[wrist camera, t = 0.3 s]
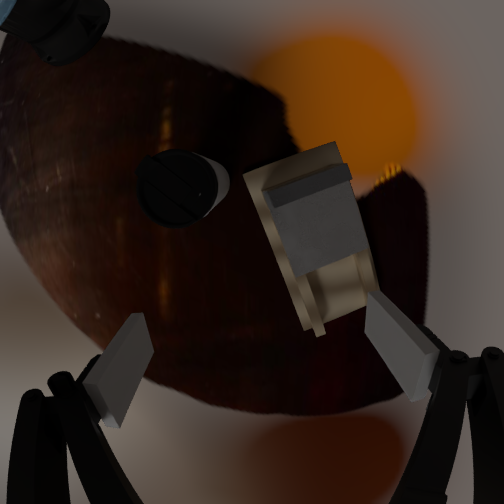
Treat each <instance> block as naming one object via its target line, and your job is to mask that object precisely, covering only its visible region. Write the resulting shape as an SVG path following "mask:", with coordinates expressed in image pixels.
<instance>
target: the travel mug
mask: <svg viewBox="0 0 504 504" xmlns="http://www.w3.org/2000/svg"><path fill="white" fill-rule="evenodd" d="M135 174H136V175H137V176H138V180H137V187H136V190H137V198H138V202H139V204H140V206H141V208H142V210H143V212H144V213H145V214H146V216H147V217H149V218H150V219H151V220H152V221H153V222H155V223H157V224H158V225H161V226H163V227H167V228H173V229H174V228H184V227H188V226H190V225H191V224H193V223H195V222H197V221H198V220H200V219H202V218H203V217H204V216H206V215H207V214H208V213H209V212H210V211H211V210H212V209H213V208H214V207H215V206H216V205H217V204H218V203H219V202H220V201H221V200H222V199H223V198H224V197H225V195H226V194H227V192H228V190H229V186H230V178H229V175H228V172H227V171H226V169H225V168H224V167H223V166H222V165H221V164H219V163H217V162H215V161H213V160H210V159H208V158H206V157H203V156H201V155H199V154H196V153H193V152H189V151H187V150H181V149H170V150H166V151H162V152H160V153H158V154H156V155H155V156H153V157H152V158H151V156H150V155H147V156H145V157H144V159H143V160H142V161H141V163H140V164H139V166H138V167H137V169H136V171H135Z"/></svg>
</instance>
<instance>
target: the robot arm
mask: <svg viewBox="0 0 504 504" xmlns="http://www.w3.org/2000/svg"><path fill="white" fill-rule="evenodd" d="M109 19H110V8H109V6H108V4H107V3H106V2H105V1H104V0H0V30H1V31H3V32H6V33H8V34H10V35H12V36H15V37H17V38H19V39H21V40H24V41H26V42H28V43H30V44H31V46H32V47H33V49H34V50H35V51H36V53H37V54H38V56H39V57H40V59H41V60H43V61H44V62H46V63H48V64H50V65H53V66H62V65H66V64H69V63H71V62H73V61H75V60H77V59H79V58H80V57H81V56H83V55H84V54H85V53H87V52H88V51H89V50H90V49H91V48H92V47H93V46H94V45H95V44H96V43H97V41H98V40H99V39H100V37H101V36H102V34H103V33H104V31H105V29H106V27H107V25H108V22H109ZM365 333H366V335H367V336H368V338H369V339H370V341H371V342H372V344H373V345H374V347H375V348H376V350H377V351H378V352H379V354H380V355H381V357H382V358H383V360H384V361H385V363H386V364H387V366H388V367H389V369H390V370H391V372H392V373H393V375H394V376H395V378H396V380H397V381H398V383H399V384H400V386H401V387H402V389H403V390H404V392H405V393H406V395H407V397H408V398H409V400H410V401H411V402H414V401H417V400H420V399H423V398H425V396H426V393H427V390H428V389H429V390H430V391H431V393H432V395H431V398H430V400H429V403H428V405H427V408H426V410H427V411H426V415H425V417H424V421H423V424H422V427H421V430H420V433H419V435H418V438H417V441H416V444H415V446H414V449H413V451H412V454H411V456H410V459H409V461H408V464H407V466H406V468H405V471H404V473H403V476H402V477H401V480H400V482H399V484H398V486H397V488H396V490H395V492H394V494H393V496H392V498H391V500H390V502H389V504H446V502H447V495H446V494H445V491H446V488H447V485H448V482H449V478H450V475H451V472H452V468H453V464H454V460H455V457H456V452H457V449H458V444H459V439H460V435H461V430H462V424H463V418H464V412H465V406H466V401H467V408H468V414H469V421H470V430H471V439H472V450H473V469H474V500H473V504H504V353H503V351H502V350H500V349H499V348H496V347H486V348H485V349H484V350H483V351H482V354H481V357H473V358H469V357H468V355H467V354H466V353H464V352H462V351H458V350H453V351H451V350H450V349H449V348H448V347H447V346H446V345H445V344H444V343H443V342H442V341H441V340H440V339H438V338H437V336H436V335H435V334H433V332H432V331H431V330H430V329H429V328H427V327H425V326H423V325H421V324H418V325H414V324H413V322H412V321H411V320H409V319H408V318H407V317H406V316H405V315H404V314H403V313H402V312H401V311H400V310H399V309H398V308H397V307H396V306H395V305H394V304H393V303H392V302H391V301H390V300H389V299H388V298H387V297H386V296H385V295H384V294H383V293H382V292H381V291H380V290H378V291H371V292H368V298H367V311H366V323H365ZM153 353H154V350H153V346H152V343H151V340H150V336H149V333H148V329H147V326H146V322H145V318H144V314H143V313H131V315H130V316H129V318H128V319H127V320H126V322H125V323H124V324H123V326H122V327H121V328H120V330H119V331H118V332H117V334H116V335H115V337H114V338H113V339H112V341H111V342H110V344H109V345H108V346H107V348H106V349H105V351H104V352H103V353H102V355H101V354H98V355H96V356H95V357H94V358H92V359H91V360H90V362H89V363H88V364H87V367H85V368H84V370H83V371H82V373H81V374H80V376H79V377H78V378H77V380H76V381H74V378H73V376H72V375H71V373H70V372H67V371H61V372H57V373H55V374H53V375H52V376H51V377H50V378H49V379H48V382H47V384H48V386H49V388H50V390H51V392H52V394H53V395H54V396H50V397H45V396H44V395H43V393H42V391H41V390H39V389H31V390H28V391H26V392H25V393H24V394H23V396H22V398H21V401H20V405H19V410H18V414H17V419H16V423H15V429H14V434H13V440H12V446H11V453H10V461H9V470H8V482H7V502H6V504H71V503H70V494H69V484H68V470H67V445H68V448H69V451H70V454H71V457H72V460H73V463H74V465H75V468H76V471H77V473H78V476H79V478H80V481H81V483H82V485H83V488H84V490H85V493H86V495H87V497H88V499H89V502H90V504H144V503H143V502H142V500H141V499H140V498H139V496H138V494H137V493H136V491H135V490H134V488H133V487H132V485H131V483H130V482H129V480H128V478H127V477H126V475H125V473H124V472H123V470H122V468H121V466H120V465H119V463H118V461H117V459H116V457H115V455H114V453H113V452H112V450H111V448H110V446H109V444H108V442H107V440H106V438H105V436H104V434H103V431H102V429H101V427H100V426H99V424H98V423H99V421H100V419H102V420H103V422H104V424H105V425H106V426H107V427H113V428H120V427H121V424H122V422H123V420H124V417H125V415H126V413H127V410H128V408H129V406H130V403H131V401H132V399H133V397H134V394H135V392H136V390H137V388H138V385H139V383H140V381H141V379H142V377H143V374H144V372H145V370H146V368H147V366H148V363H149V361H150V359H151V357H152V355H153Z"/></svg>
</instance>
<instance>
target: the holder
mask: <svg viewBox="0 0 504 504" xmlns="http://www.w3.org/2000/svg"><path fill="white" fill-rule="evenodd" d="M339 163H343V161H342V158H341V155H340V152H339V150H338V147H337V145H336V142H335V141H334V142H330V143H327V144H324V145H321V146H318V147H316V148H313V149H309V150H307V151H304V152H301V153H298V154H295V155H292V156H290V157H287V158H284V159H281V160H279V161H276V162H273V163H271V164H268V165H266V166H263V167H260V168H258V169H255V170H253V171H250V172H248V173H245V174H243V177H244V179H245V182H246V184H247V187H248V189H249V192H250V194H251V197H252V199H253V201H254V204H255V206H256V209H257V211H258V214H259V216H260V219H261V221H262V224H263V226H264V229H265V231H266V234H267V236H268V239H269V241H270V244H271V246H272V249H273V251H274V254H275V257H276V259H277V262H278V264H279V267H280V269H281V272H282V274H283V277H284V280H285V282H286V285H287V287H288V290H289V292H290V295H291V298H292V300H293V303H294V306H295V308H296V311H297V313H298V316H299V319H300V321H301V324H302V327H303V329H304V331H305V330H308V329H310V328H313V329H314V332H315V334H316V336H317V337H318V336H321V335H323V334H326V332H325V329H324V326H323V323H326V322H328V321H330V320H333V319H335V318H338V317H340V316H342V315H345V314H347V313H349V312H352V311H354V310H356V309H359V308H361V307H363V306H365V305H366V306H367V298H368V292H371V291H378V290H380V288H379V284H378V279H377V275H376V271H375V266H374V262H373V258H372V254H371V251H370V247H369V248H367V249H365V250H362V251H360V252H358V253H355V254H353V255H350V256H348V257H346V258H343V259H341V260H338V261H336V262H334V263H331V264H329V265H326V266H324V267H321V268H319V269H316V270H314V271H311V272H309V273H306V274H304V275H301V276H299V277H296V278H295V275H294V273H293V270H292V267H291V265H290V262H289V259H288V257H287V254H286V252H285V249H284V246H283V244H282V241H281V238H280V236H279V233H278V231H277V228H276V226H275V223H274V220H273V218H272V215H271V213H270V210H269V208H268V205H267V203H266V200H265V198H264V195H263V193H262V192H263V191H266V190H269V189H271V188H274V187H276V186H279V185H282V184H284V183H287V182H289V181H292V180H295V179H297V178H300V177H303V176H306V175H308V174H311V173H314V172H317V171H319V170H322V169H325V168H328V167H331V166H333V165H336V164H339ZM343 164H344V163H343ZM349 182H350V181H349ZM350 185H351V183H350ZM351 188H352V187H351ZM352 191H353V189H352ZM353 194H354V193H353ZM354 198H355V196H354ZM355 201H356V199H355ZM356 204H357V202H356ZM357 207H358V205H357ZM358 210H359V208H358ZM359 214H360V212H359ZM360 217H361V215H360ZM361 220H362V218H361ZM362 224H363V222H362ZM363 227H364V225H363ZM364 231H365V229H364ZM365 234H366V232H365ZM366 238H367V236H366ZM367 242H368V239H367ZM368 245H369V243H368Z"/></svg>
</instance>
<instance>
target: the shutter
mask: <svg viewBox="0 0 504 504" xmlns="http://www.w3.org/2000/svg"><path fill="white" fill-rule="evenodd" d="M351 179H352V176H351V173H350V170H349V167H348V165H347V163H344V164H343V163H339V164H336V165H333V166H331V167H328V168H325V169H322V170H319V171H317V172H314V173H311V174H308V175H306V176H303V177H300V178H297V179H295V180H292V181H289V182H287V183H284V184H282V185H279V186H276V187H274V188H271V189H269V190H266V191H263V192H262V193H263V195H264V198H265V200H266V203H267V205H268V208H269V210H270V213H271V215H272V218H273V220H274V223H275V226H276V228H277V231H278V233H279V236H280V238H281V241H282V244H283V246H284V249H285V252H286V254H287V257H288V259H289V262H290V265H291V267H292V270H293V273H294V275H295V278H296V277H299V276H301V275H304V274H306V273H309V272H311V271H314V270H316V269H319V268H321V267H324V266H326V265H329V264H331V263H334V262H336V261H338V260H341V259H343V258H346V257H348V256H350V255H353V254H355V253H358V252H360V251H362V250H365V249H367V248H369V245H368V242H367V238H366V234H365V231H364V227H363V224H362V220H361V217H360V214H359V210H358V207H357V204H356V201H355V198H354V194H353V191H352V188H351V185H350V182H349V180H351Z"/></svg>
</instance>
